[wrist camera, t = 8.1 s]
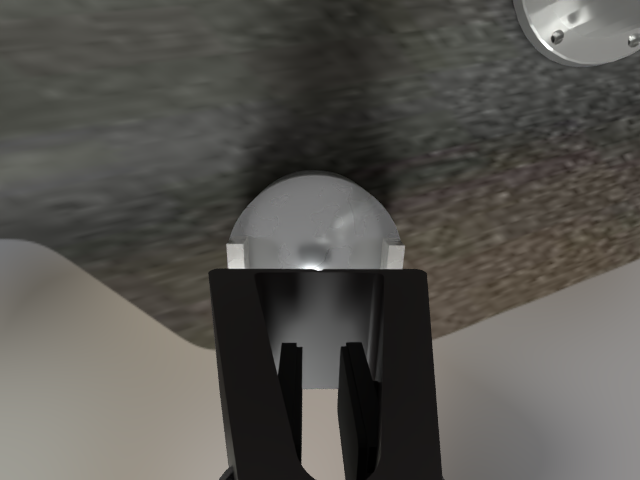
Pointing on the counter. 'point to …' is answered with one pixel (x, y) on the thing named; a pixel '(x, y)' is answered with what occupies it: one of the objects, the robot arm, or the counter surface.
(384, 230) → the grey short round piece
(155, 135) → the counter surface
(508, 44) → the counter surface
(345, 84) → the counter surface
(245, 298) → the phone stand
